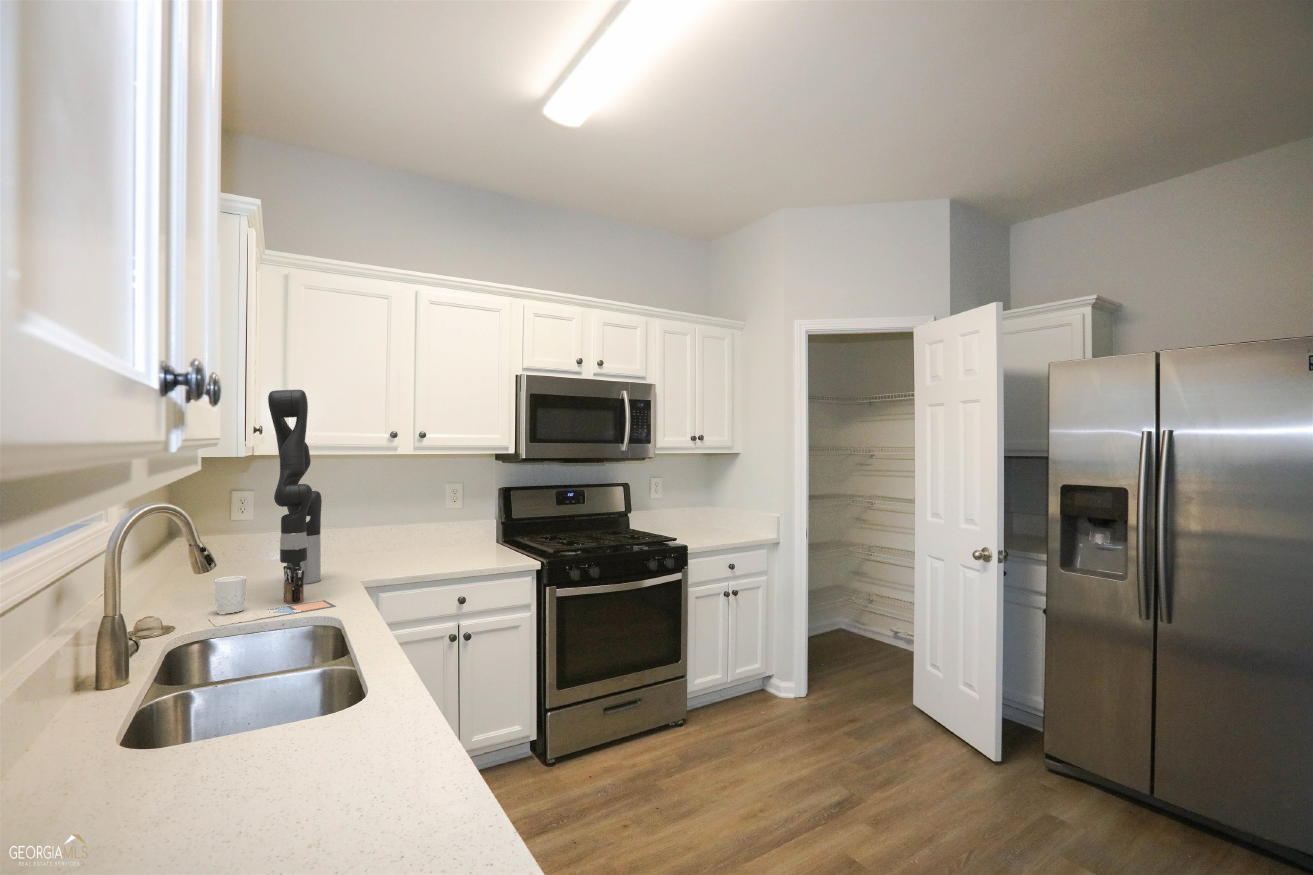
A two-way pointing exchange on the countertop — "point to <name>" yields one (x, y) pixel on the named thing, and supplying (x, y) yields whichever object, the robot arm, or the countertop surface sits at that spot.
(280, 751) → the countertop surface
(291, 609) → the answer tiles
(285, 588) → the walnut block
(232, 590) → the white cup
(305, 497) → the robot arm
